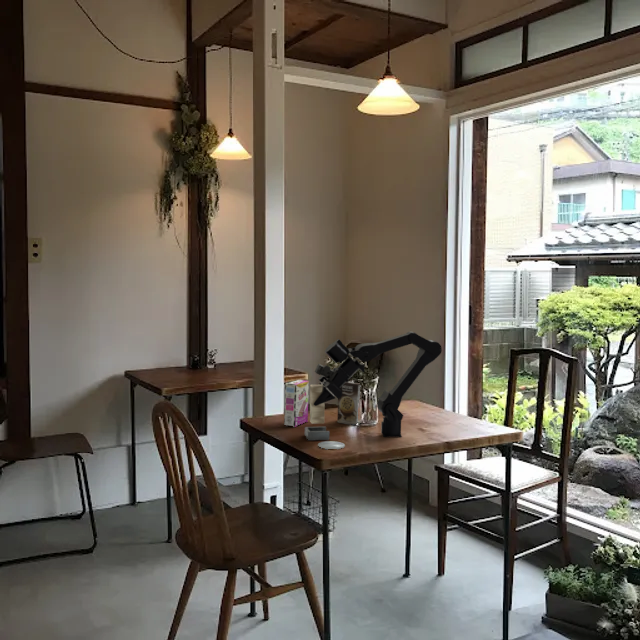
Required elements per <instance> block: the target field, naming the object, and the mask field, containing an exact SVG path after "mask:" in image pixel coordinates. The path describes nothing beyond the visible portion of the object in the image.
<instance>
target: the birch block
mask: <svg viewBox="0 0 640 640" xmlns="http://www.w3.org/2000/svg"><path fill="white" fill-rule="evenodd" d="M322 386H324V385H319V384H309V422H310V424H313V425H314V424H325V411H326V410H325V408H326V406H325V403H326V402H324V403H322V404H319V405H317V406H315V405H314V402H315V401H316V399H317V398H318V397H319V395H320V394H321V392H322ZM324 387H325V386H324Z"/></svg>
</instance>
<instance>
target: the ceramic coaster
mask: <svg viewBox="0 0 640 640" xmlns="http://www.w3.org/2000/svg"><path fill="white" fill-rule="evenodd" d="M318 446H319V447H321V448H320V449H322V448H325V449H324V450H328V449H337V450H342V449H344V448H345V447H346V445H345V443H343V442H340V441H336V440H335V441H334V440H332V441H329V440H325V441H321V442H319V443H317V447H318ZM319 447H318V448H319ZM341 448H342V449H341Z"/></svg>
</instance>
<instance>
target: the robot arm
mask: <svg viewBox="0 0 640 640" xmlns="http://www.w3.org/2000/svg"><path fill="white" fill-rule="evenodd" d="M411 344H412V345H413V346H415V347H416V348H419V349H418V350H417V352H416V353H417V354H416V358H415V359H414V360H413V362H412V363H411V364H410V365H409V367H408V368H407V370H406V371H405V372H404V374H403V375H402V376H401V377H400V379H399V380H398V381H397V383H396V384H395V386H394V387H393V388H392V389H390V390H389V391H387V390H386V389H385V390H384V391H383V392H382V394H381V395H380V396H379V397H378V398H377V399H378V400H377V404H376V406H377V409H378V412H380V413H381V414H382V416H383V417H382V421H381V428H380V431H381V432H380V434H381V435H382V437H384V438H402V437H403V436H402V435H403V434H402V420H403V418H404V414H403V413H402V412H401V411H400V410H399V408H400V406H401V404H402V400H403V397H404V396H405V394H406V393H407V392H408V390H409V389H410V388H411V386H412V385H413V384H414V382H415V381H416V379H418V377H419V376H420V375H421V373H422V372H423V370H425V368H426V367H427V366H428V365H429V364H430V363H432V362H434V361H435V360H436V359H437V358H438V357H440V355H441V354H442V351H443V350H442V345H441V344H440V342H438V341H436V340H431V339H427V338H424V337H423V336H420V335H419V334H418V333H416V332H413V331H408V332H405V333H403V334H400V335H395V336H393V337H390V338H387V339H384V340H381V341H377V342H367V343H366V342H365V343H359V344H357V345H356V346H355V347H350V348H348V347H347V346H346V345H344V343H343V342H342V341H341V339H336V340H334V342H332V343H330V344H329V345H328V346H327V347H326V348H325V350H324V353H325V354H326V355H327V356H328V358H330V359H331V360H332V361H333V362H334V363H335V364H338V363H339V366H337V367H334V368H333V369H331V367H330V366H328V365H326V364H325V365H323V364H321V363H317V366H316V368H315V370H314V373H315V374H316V375H318V376H319V377H318V378H317V379H318V380H319V381H318V385H324V386H325V387H324V386H322V392H321V394H320V395H319V397H318V398H317V399H316V401H315V402H314V405H315V406H317V405H319V404H322V403H324V402H325V403H326V402H329V401H332V400H336V399H337V400H338V399H340V398H341V397H342V391H341V389H340V388H341V387H342V386H343V385H344V384H345V383H346V382H347V383H348V382H349V380H350V379H351V378H352V377H353V376H354V374H356V372H357V371H361V372H363V373H365V364H364V363H365V362H366V363H367V362H369V361H372V360H373V359H376V358H377V357H378V356H379V355H382V354H383V353H386V352H389V351H393V350H396V349H399V348H402V347H405V346H409V345H411ZM351 356H352V357H353V359H352V357H351ZM358 360H359V361H361V362H364V363H361V362H359V361H358Z"/></svg>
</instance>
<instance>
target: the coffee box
mask: <svg viewBox="0 0 640 640" xmlns="http://www.w3.org/2000/svg"><path fill="white" fill-rule="evenodd" d="M352 381H353V380H350V381H349V382H348V383H347V382H346V383H345V384H344V385H343V386H342V387H341V388H340V389H341V391H342V397H341V398H340V399H338V398H337V421H336V422H337V423H339V424H345V425H351V424H357V422H358V403H359V398H360V387H361V385H360V383H354V382H352Z"/></svg>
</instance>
